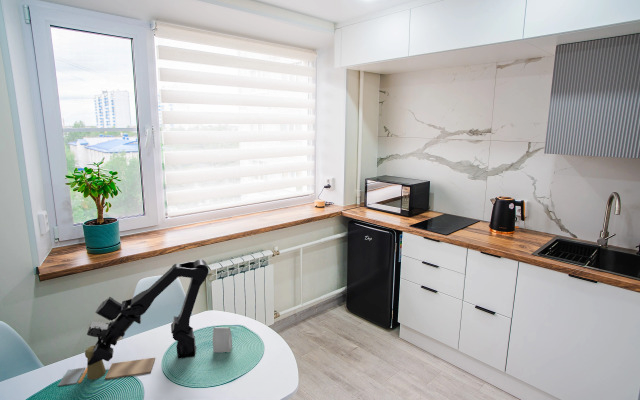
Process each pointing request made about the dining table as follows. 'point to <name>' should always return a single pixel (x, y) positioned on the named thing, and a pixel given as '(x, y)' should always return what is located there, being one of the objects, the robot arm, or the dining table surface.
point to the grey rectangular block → (222, 339)
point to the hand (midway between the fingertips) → (89, 359)
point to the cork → (94, 366)
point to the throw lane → (111, 371)
